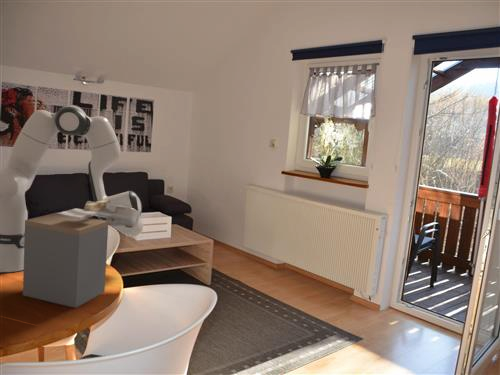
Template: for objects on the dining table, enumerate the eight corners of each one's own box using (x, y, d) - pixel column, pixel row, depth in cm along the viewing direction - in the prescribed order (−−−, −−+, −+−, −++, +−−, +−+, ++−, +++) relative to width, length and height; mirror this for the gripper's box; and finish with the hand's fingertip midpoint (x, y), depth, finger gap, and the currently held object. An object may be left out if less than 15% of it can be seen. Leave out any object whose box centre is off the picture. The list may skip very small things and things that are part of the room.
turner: (96, 205, 172) (96, 198, 171) (117, 208, 169) (118, 201, 169) (56, 215, 151) (56, 208, 150) (80, 219, 148) (80, 212, 148)
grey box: (22, 295, 156) (24, 220, 152) (55, 280, 171) (57, 212, 167) (76, 307, 150) (79, 230, 146) (104, 291, 165) (108, 221, 162)
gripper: (98, 205, 183) (79, 192, 170) (144, 212, 177) (128, 199, 165) (92, 220, 181) (73, 207, 168) (139, 228, 175) (123, 216, 163)
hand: (101, 203), depth 167 cm, fingers closed on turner, 2 cm apart
